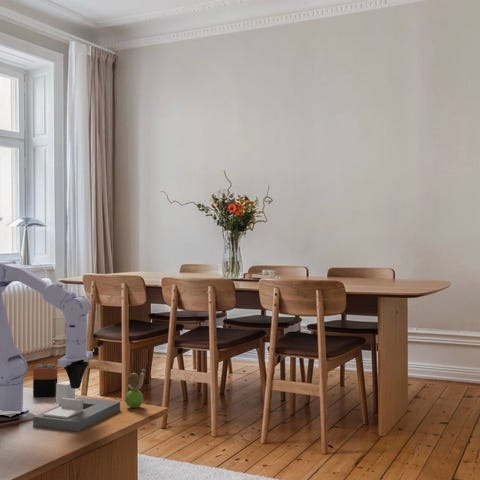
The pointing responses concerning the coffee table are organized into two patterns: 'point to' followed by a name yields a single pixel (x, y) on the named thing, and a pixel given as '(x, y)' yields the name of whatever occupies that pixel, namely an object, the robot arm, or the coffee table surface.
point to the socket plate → (79, 415)
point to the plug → (64, 391)
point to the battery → (44, 380)
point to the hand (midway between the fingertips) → (75, 388)
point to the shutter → (66, 408)
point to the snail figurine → (135, 390)
